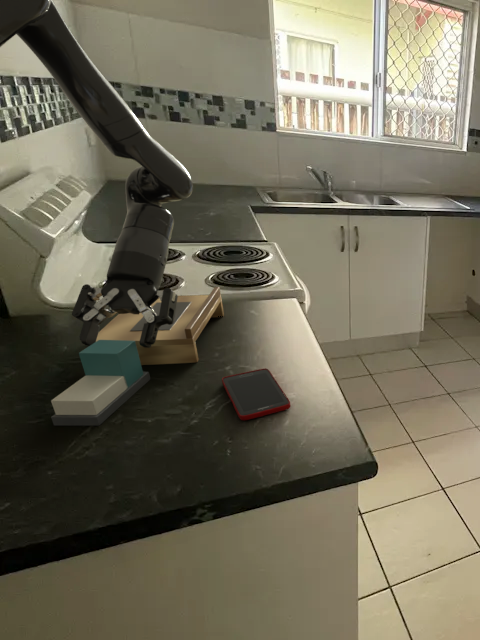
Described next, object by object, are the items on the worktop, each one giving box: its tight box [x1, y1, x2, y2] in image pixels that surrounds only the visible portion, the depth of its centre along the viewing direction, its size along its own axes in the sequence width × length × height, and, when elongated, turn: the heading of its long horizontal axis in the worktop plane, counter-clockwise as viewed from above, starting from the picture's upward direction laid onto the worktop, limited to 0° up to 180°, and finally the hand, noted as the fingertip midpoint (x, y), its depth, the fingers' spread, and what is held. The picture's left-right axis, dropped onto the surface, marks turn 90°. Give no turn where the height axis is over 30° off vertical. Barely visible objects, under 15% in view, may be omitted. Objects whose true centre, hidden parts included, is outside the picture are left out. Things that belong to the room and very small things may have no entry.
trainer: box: [50, 340, 151, 426], centre depth 75 cm, size 14×6×8 cm, turn 8°
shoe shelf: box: [96, 286, 225, 366], centre depth 96 cm, size 16×24×7 cm, turn 18°
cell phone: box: [221, 368, 292, 421], centre depth 81 cm, size 8×15×1 cm, turn 39°
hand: (116, 345), depth 78 cm, fingers open, 8 cm apart
